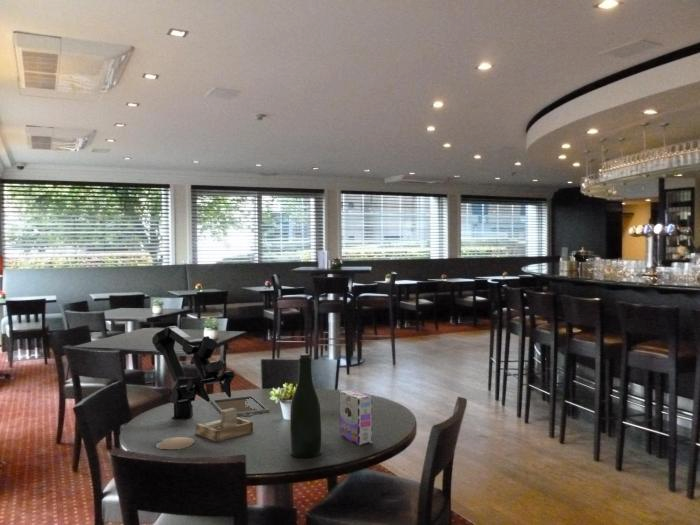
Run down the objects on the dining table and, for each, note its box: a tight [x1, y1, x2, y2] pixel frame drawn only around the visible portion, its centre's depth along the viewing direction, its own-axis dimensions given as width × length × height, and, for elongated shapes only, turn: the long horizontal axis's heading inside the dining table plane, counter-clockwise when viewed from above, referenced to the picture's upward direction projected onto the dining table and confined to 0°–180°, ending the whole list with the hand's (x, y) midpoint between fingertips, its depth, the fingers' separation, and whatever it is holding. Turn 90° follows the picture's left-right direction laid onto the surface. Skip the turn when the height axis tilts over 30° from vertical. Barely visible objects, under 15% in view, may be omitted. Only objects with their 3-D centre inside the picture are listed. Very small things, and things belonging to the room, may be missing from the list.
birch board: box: [220, 408, 238, 429], centre depth 211 cm, size 3×5×9 cm, turn 136°
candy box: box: [339, 388, 373, 446], centre depth 205 cm, size 14×6×16 cm, turn 30°
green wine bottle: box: [289, 353, 323, 459], centre depth 190 cm, size 10×10×33 cm
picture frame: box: [210, 395, 271, 418], centre depth 248 cm, size 19×2×30 cm
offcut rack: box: [195, 416, 254, 443], centre depth 213 cm, size 14×16×4 cm
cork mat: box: [157, 436, 195, 450], centre depth 201 cm, size 13×13×1 cm
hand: (219, 399), depth 215 cm, fingers open, 9 cm apart
